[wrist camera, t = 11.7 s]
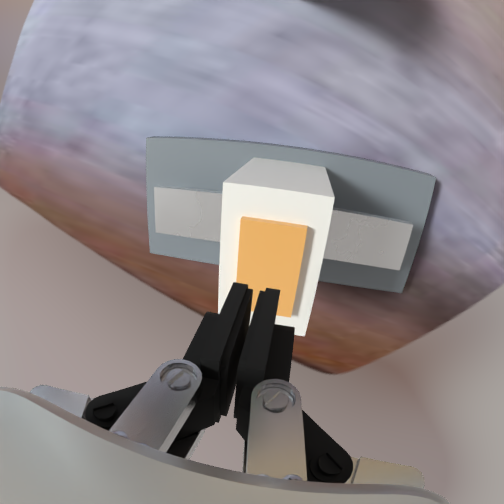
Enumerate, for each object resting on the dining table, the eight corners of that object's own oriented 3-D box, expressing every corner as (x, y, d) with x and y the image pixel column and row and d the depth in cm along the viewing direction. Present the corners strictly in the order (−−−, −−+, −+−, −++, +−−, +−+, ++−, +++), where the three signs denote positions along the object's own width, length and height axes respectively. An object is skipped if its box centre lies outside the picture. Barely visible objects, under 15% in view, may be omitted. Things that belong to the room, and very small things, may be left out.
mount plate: (430, 174, 19) (449, 185, 16) (398, 285, 24) (408, 309, 21) (153, 136, 22) (129, 141, 19) (156, 247, 26) (137, 265, 23)
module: (325, 167, 20) (335, 199, 12) (307, 267, 23) (304, 340, 16) (253, 157, 20) (220, 184, 13) (245, 258, 24) (216, 325, 16)
